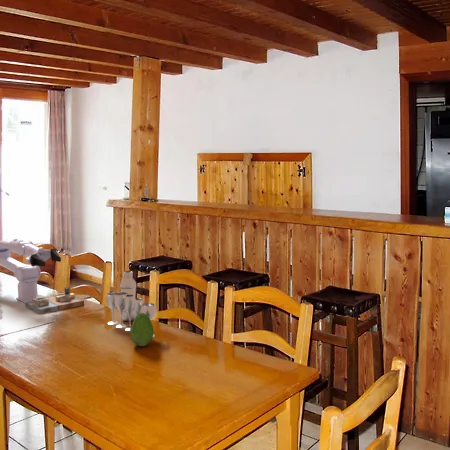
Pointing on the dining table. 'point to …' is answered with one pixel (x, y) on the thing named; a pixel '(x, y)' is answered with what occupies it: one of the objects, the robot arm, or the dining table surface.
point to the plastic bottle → (128, 293)
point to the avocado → (142, 330)
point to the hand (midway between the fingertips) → (52, 261)
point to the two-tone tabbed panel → (53, 303)
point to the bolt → (67, 291)
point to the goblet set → (128, 307)
